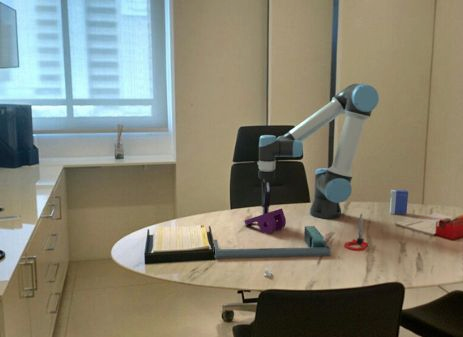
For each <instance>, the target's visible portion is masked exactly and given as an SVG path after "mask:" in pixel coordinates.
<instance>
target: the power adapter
mask: <svg viewBox="0 0 463 337" xmlns="http://www.w3.org/2000/svg"><path fill="white" fill-rule="evenodd" d="M263 275H264V277H272V276H273V272H270V268H268V266H266V267H265V270H264V274H263Z"/></svg>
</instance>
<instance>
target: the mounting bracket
mask: <svg viewBox="0 0 463 337" xmlns="http://www.w3.org/2000/svg"><path fill="white" fill-rule="evenodd" d="M254 223H257V225H258V228H259V229H260V231H261V232H262V233H264V234H267V235H268V234H270V233H274V232H275V230H276V231H279V230H282V229H284V227H285V226H286V224H287V219H286V216H285V213H284V211H283V208H282V207H281V208H279V209H275V210H271V211H269V212H268V213H265V214H260V215H258V216H257V215H256V216H253V217H251V218H248V219H245V220H244V224H245V226H247V225H251V224H254Z"/></svg>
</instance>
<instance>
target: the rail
mask: <svg viewBox="0 0 463 337" xmlns="http://www.w3.org/2000/svg"><path fill="white" fill-rule="evenodd" d="M303 231H304V235H303V240H304V242H305V244H306V245H307V247H277V248H276V247H272V248H270V247H267V248H224V249H223V248H222V249H221V248H220V247H219V243H218V239H212V244H213V243H214V247H215V255H214V259H215V258H216V259H217V260H218V259H254V258H255V259H256V258H262V259H263V258H297V257H298V258H299V257H302V258H303V257H304V258H305V257H307V258H308V257H330V256H331V247H330V245H328V244H327V242H326V241H325V240H324V239H325V238H324V236H323V234H322V233H321V232H320V231H319V230H318V228H316V226H315V225H304V230H303ZM216 259H215V260H216Z"/></svg>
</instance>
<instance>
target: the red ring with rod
mask: <svg viewBox="0 0 463 337" xmlns="http://www.w3.org/2000/svg"><path fill="white" fill-rule="evenodd" d="M359 216H360V217H359V223H358V224H359V225H358V226H359V227H358V229H359V230H358V238H356V239H352V241H346V242H344V246H343V247H344V248H345V249H347V250H350V251H355V252H356V251H357V252H358V251H360V250H361V251H364V250H366V248H367V247H369V243H368V242H365V241H364V238H363V214H362V213H360V215H359ZM351 245H359V246H360V247H353V246H351Z"/></svg>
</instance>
